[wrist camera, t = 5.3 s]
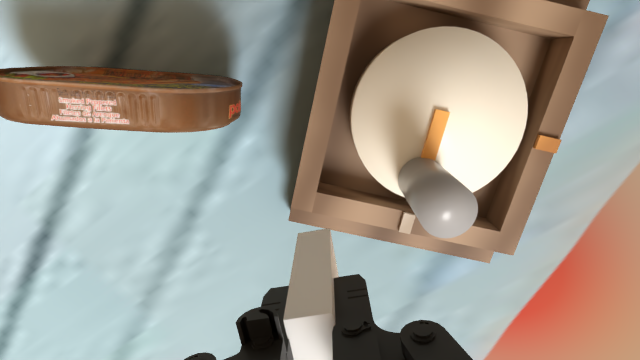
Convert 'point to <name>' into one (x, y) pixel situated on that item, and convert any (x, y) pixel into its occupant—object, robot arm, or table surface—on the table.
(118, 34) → the table surface
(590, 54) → the wooden tray
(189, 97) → the tin
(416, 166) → the dial
